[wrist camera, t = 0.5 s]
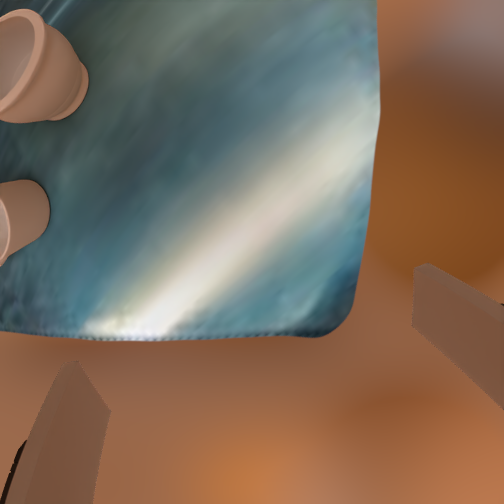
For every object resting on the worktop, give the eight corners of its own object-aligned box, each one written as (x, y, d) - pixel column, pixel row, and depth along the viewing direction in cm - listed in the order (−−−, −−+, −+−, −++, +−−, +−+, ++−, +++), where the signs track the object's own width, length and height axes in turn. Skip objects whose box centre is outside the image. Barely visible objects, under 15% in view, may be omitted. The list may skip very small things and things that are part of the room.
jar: (106, 104, 30) (52, 74, 15) (39, 143, 29) (-34, 141, 15) (87, 38, 26) (39, -12, 12) (23, 77, 25) (-42, 52, 11)
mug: (31, 273, 33) (-7, 304, 24) (-8, 242, 31) (-49, 265, 21) (61, 198, 32) (19, 212, 22) (19, 167, 29) (-27, 173, 19)
